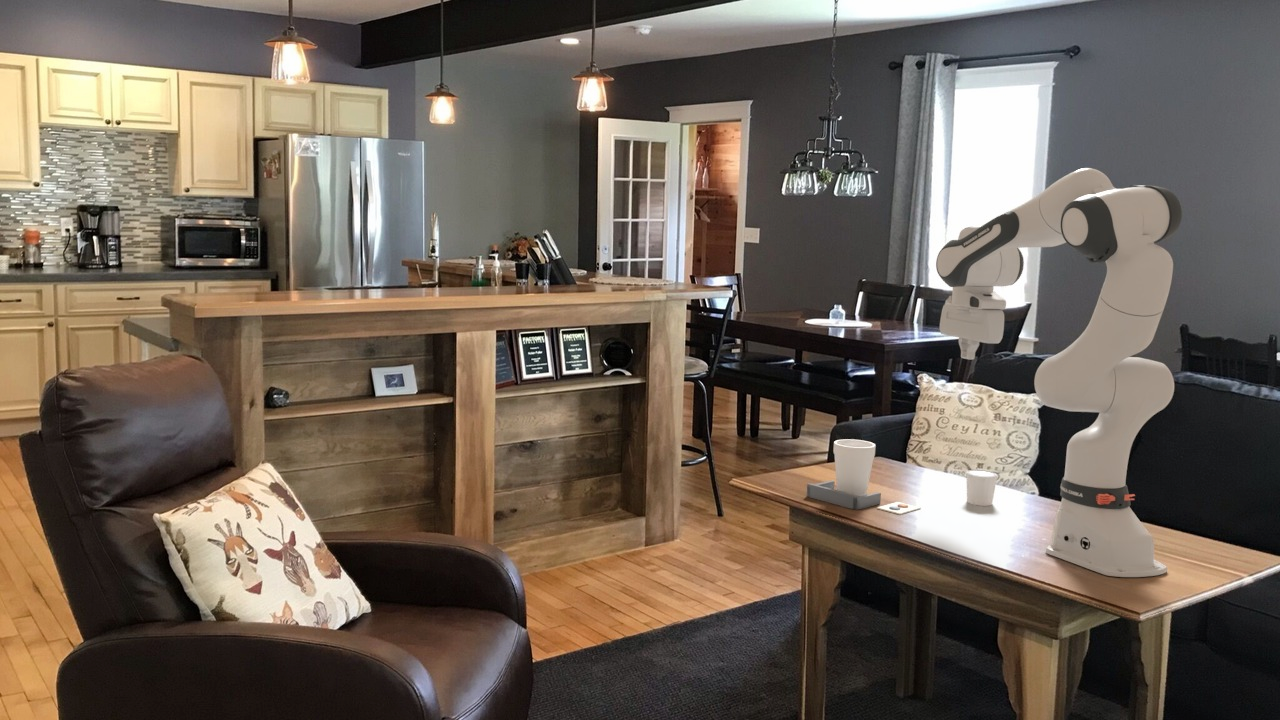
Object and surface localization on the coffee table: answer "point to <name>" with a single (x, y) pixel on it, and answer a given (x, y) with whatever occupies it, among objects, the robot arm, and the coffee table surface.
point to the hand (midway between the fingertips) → (967, 358)
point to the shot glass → (980, 487)
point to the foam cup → (853, 465)
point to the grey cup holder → (841, 496)
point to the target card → (898, 508)
